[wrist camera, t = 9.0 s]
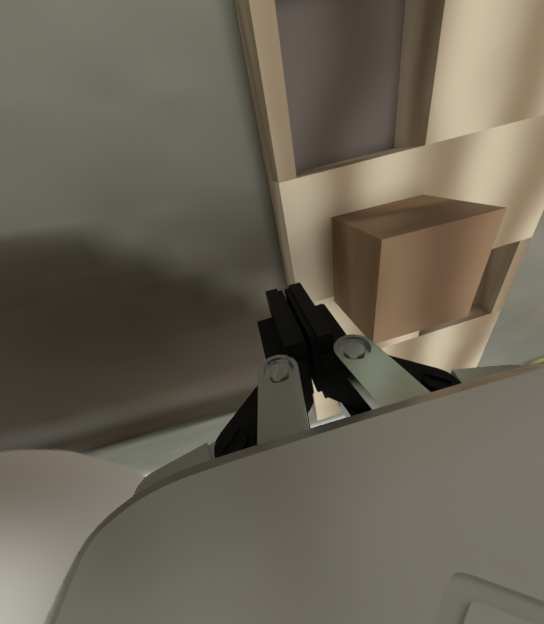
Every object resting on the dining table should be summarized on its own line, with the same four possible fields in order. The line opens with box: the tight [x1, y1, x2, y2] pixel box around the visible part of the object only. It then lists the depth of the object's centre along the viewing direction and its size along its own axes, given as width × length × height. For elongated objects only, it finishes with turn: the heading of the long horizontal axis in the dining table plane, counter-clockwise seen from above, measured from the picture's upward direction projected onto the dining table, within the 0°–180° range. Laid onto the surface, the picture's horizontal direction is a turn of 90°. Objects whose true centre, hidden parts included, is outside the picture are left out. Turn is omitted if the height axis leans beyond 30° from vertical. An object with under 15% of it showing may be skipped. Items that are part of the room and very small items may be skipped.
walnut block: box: [332, 195, 507, 344], centre depth 14 cm, size 6×6×5 cm
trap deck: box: [234, 0, 544, 420], centre depth 15 cm, size 19×39×6 cm, turn 12°
